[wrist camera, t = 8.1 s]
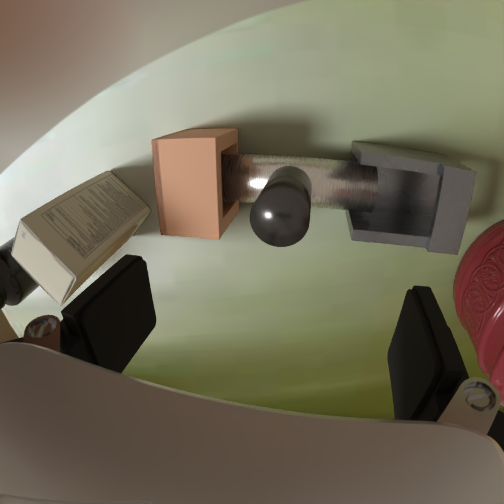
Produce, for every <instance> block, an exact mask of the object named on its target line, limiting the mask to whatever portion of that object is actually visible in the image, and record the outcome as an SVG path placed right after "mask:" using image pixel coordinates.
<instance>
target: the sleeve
mask: <svg viewBox="0 0 504 504" xmlns="http://www.w3.org/2000/svg"><path fill="white" fill-rule="evenodd" d="M351 161H355V162H359V163H360V165H369V166H377V171H378V192H377V199H376V204H375V208H374V210H373V212H372V213H370V212H360V211H350V210H346V216H347V221H348V226H349V230H350V235H351V240H353V241H364V242H374V243H384V244H394V245H404V246H414V247H423V248H426V249H427V251H428V252H436V253H446V254H455V255H458V252H459V248H460V245H461V241H462V237H463V233H464V229H465V225H466V221H467V217H468V213H469V208H470V203H471V199H472V194H473V188H474V183H475V177H476V172H475V171H473V170H471V169H470V168H468V167H466V166H464V165H463V164H461V163H459V162H457V161H455V160H453V159H451V158H450V157H448V156H446V155H443V154H438V153H432V152H427V151H421V150H415V149H409V148H402V147H396V146H389V145H381V144H374V143H366V142H357V141H352V150H351Z"/></svg>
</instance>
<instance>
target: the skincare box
mask: <svg viewBox="0 0 504 504" xmlns="http://www.w3.org/2000/svg"><path fill="white" fill-rule="evenodd" d="M150 212H151V209H150V208H149V207H148V206H147V205H146V204H145V203H144V202H143V201H142V200H141V199H140V198H139V197H138V196H137V195H135V194H134V193H133V192H132V191H131V190H130V189H129V188H128V187H127V186H126V185H125V184H123V183H122V182H121V181H120V180H119V179H118V178H117V177H116V176H114V175H113V174H112V173H111V172H110V171H105V172H104V173H101V174H99V175H97V176H96V177H94V178H92V179H90V180H88V181H86V182H84V183H82V184H80V185H78V186H76V187H75V188H73V189H71V190H69V191H67V192H66V193H64V194H62V195H60V196H58V197H57V198H55V199H53V200H51V201H50V202H48V203H46V204H45V205H43V206H41V207H40V208H38V209H36V210H35V211H33V212H31V213H30V214H28V215H26V216H25V217H23V218H22V219H20V221H19V225H18V228H17V231H16V235H15V238H14V242H13V247H12V252H11V254H12V256H13V257H14V258H15V260H16V261H17V262H18V263H19V264H20V265H21V266H22V268H23V269H24V270H25V271H26V272H27V273H28V274H29V275H30V276H31V277H32V278H33V279H34V280H35V281H36V282H37V284H38V285H39V286H40V287H41V288H42V289H43V290H44V291H45V292H46V293H47V294H49V295H50V296H51V297H52V298H53V299H54V300H55V301H56V302H57V303H58V304H59V305H60V306H61V305H63V304H64V303H65V302H66V300H67V299H68V298H69V297H70V296H71V295H72V294H73V293H74V292H75V291H76V290H77V289H78V288H79V287H80V286H81V285H82V284H83V283H84V282H85V281H86V280H87V279H88V278H89V277H90V276H91V275H92V274H93V273H94V272H95V271H96V270H97V269H98V268H99V267H100V266H101V265H102V264H103V263H104V262H105V261H106V260H107V259H108V258H109V257H110V256H112V255H113V254H114V253H115V252H116V251H117V250H118V249H119V248H120V247H121V246H122V245H123V244H124V243H125V242H126V241H127V240H129V239H130V238H131V237H132V236H133V234H134V233H135V232H136V231H137V229H138V228H139V227H140V225H141V224H142V223H143V222H144V220H145V219H146V218H147V216H148V215H149V213H150Z"/></svg>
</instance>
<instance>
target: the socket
mask: <svg viewBox="0 0 504 504" xmlns="http://www.w3.org/2000/svg"><path fill="white" fill-rule="evenodd" d="M152 153H153V165H154V176H155V187H156V197H157V206H158V214H159V223H160V231H161V235H169V236H182V237H195V238H207V239H220V238H221V236H222V235H223V233H224V232H225V230H226V229H227V227H228V226H229V224H230V223H231V221H232V220H233V218H234V217H235V215H236V214H237V212H238V211H239V202H232V201H222V177H221V154H238V128H225V129H186V130H182V131H179V132H175V133H172V134H169V135H165V136H162V137H159V138H156V139H153V140H152Z"/></svg>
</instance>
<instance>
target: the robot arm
mask: <svg viewBox="0 0 504 504" xmlns="http://www.w3.org/2000/svg"><path fill="white" fill-rule="evenodd" d="M61 313H62V316H63V320H62V321H61V322H60V320H59V319H58V317H56V316H54V315H43V316H40V317H37V318H36V319H34V320H32V321H31V322H30V323H29V324H28V325H27V326H26V328H25V331H24V337H22V338H18V339H14V340H10V341H7V342H3V343H0V504H504V413H502V412H501V411H499V410H498V409H499V407H500V402H501V401H500V395H499V393H498V391H497V389H496V388H495V387H494V386H493V385H492V384H491V383H490V382H488V381H486V380H484V379H482V378H469V376H468V373H467V371H466V368H465V365H464V362H463V360H462V357H461V355H460V352H459V349H458V347H457V344H456V342H455V339H454V337H453V335H452V332H451V330H450V328H449V327H448V326H447V323H446V321H445V319H444V316H443V314H442V312H441V310H440V307H439V305H438V303H437V301H436V299H435V296H434V294H433V292H432V290H431V288H430V287H425V286H413V288H412V290H411V289H408V291H407V293H406V296H405V300H404V303H403V306H402V310H401V313H400V316H399V320H398V323H397V326H396V329H395V332H394V335H393V338H392V341H391V344H390V347H389V350H388V365H389V372H390V379H391V387H392V395H393V404H394V414H395V420H391V419H368V418H353V417H340V416H328V415H318V414H308V413H300V412H292V411H284V410H277V409H271V408H265V407H258V406H252V405H247V404H241V403H236V402H231V401H225V400H221V399H216V398H211V397H207V396H202V395H198V394H193V393H189V392H185V391H181V390H177V389H173V388H169V387H166V386H162V385H158V384H155V383H151V382H147V381H144V380H141V379H137V378H134V377H131V376H127V375H124V374H121V373H122V371H123V370H124V369H125V367H126V366H127V364H128V363H129V362H130V360H131V359H132V357H133V356H134V355H135V353H136V352H137V351H138V349H139V348H140V346H141V345H142V344H143V342H144V341H145V339H146V338H147V337H148V335H149V334H150V333H151V331H152V330H153V329H154V327H155V325H156V315H155V309H154V304H153V299H152V294H151V288H150V282H149V276H148V270H147V264H146V262H145V261H144V260H143V259H142V257H141V256H136V255H128V254H127V255H125V256H124V257H122V258H121V259H120V260H119V261H118V262H116V263H115V264H114V265H113V266H112V267H111V268H109V269H108V270H107V271H106V272H105V273H103V274H102V275H101V276H100V277H99V278H98V279H97V280H95V281H94V282H93V283H92V284H91V285H90V286H89V287H87V288H86V289H85V290H84V291H83V292H82V293H81V294H79V295H78V296H77V297H76V298H75V299H74V300H73V301H72V302H71V303H70V304H68V305H67V306H66V307H65V308H64V309H63V310H62V311H61Z"/></svg>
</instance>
